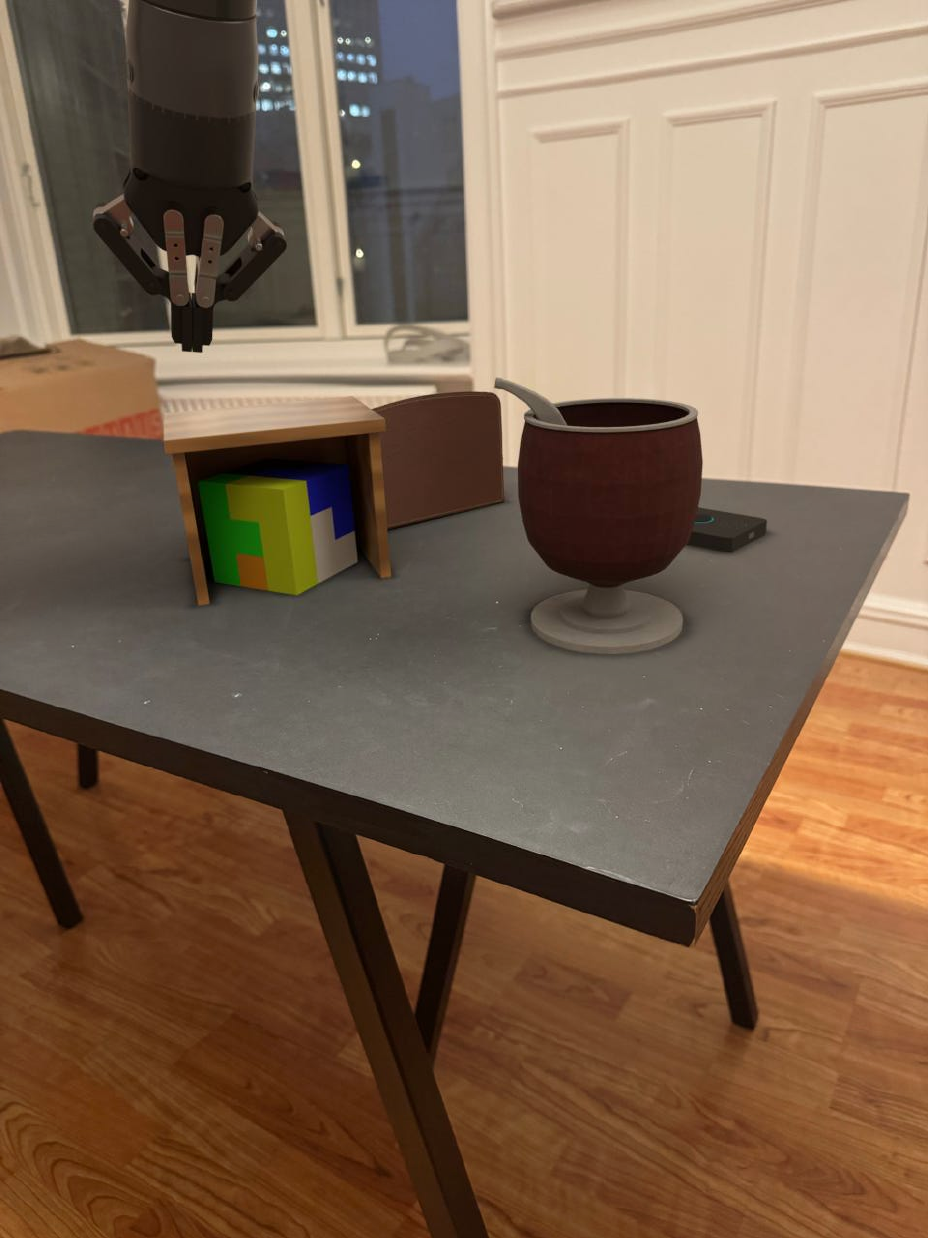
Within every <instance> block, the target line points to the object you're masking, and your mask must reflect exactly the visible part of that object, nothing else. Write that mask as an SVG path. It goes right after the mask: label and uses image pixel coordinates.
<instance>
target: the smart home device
mask: <svg viewBox="0 0 928 1238" xmlns="http://www.w3.org/2000/svg"><path fill="white" fill-rule="evenodd" d="M767 524H768V520H767V519H766V518H763V517H757V516H751V515H746V514H741V513H740V514H739V513H734V512H729V511H721V510H716V509H710V508H705V507H699V506H698V509H697V514H696V519H695V523H694V527H693V530H692V533H691V536H690V539H689V542H688V543H687V545H686V546H690V547H694V548H695V547H696V548H701V549H705V550H711V551H715V552H721V553H728V554H730V553H734V552H736V551H738V550H740V549H743V547H746V546H747V545H750V544H751V543H753V542H755V541H757V540H758V539H760V538H763V537H764V536H766V534H767Z"/></svg>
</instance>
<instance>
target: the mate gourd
mask: <svg viewBox="0 0 928 1238" xmlns="http://www.w3.org/2000/svg"><path fill="white" fill-rule="evenodd" d="M493 389H497V390H504V391H505V392H508V393H510V394H511V395H513V396H515V397H516V398H517V399H519V400H520V401H521V402H523V403H524V404H525V405H526V406H527V407H528V408H529V410H527V411H525V412H524V414H523V421H524V423H523V428H522V432H521V436H520V443H519V444H520V445H519V451H518V461H517V490H518V491H517V493H518V495H517V496H518V497H517V498H518V502H519V510H520V515H521V521H522V525H523V528H524V532H525V536H526V539H527V541H528V543H529V545H530V547H532V549H533V550H534V551H535V553H536V554H537V555H538V557H539V558H540V559H541V561H543V563H544V564H545V565H546V567H547V568H549V569H550V570H551V571H552V572H555V573H557V574H558V575H562V576H565V577H568V578H572V579H574V580H577V581H581V582H585V583H587V584H589V586H588V589H587V588H586V589H579V590H573V591H572V590H571V591H567V592H564V593H559V594H556V595H553V596H551V597H548V598H546V599H544V600H543V601H540V602H539V603H538V604H537V605H536V606H535V607H534V608H533V610H532V611H531V612H530V627H531V629H532V632H533V633H535V635H536V636H537V637H538V638H540V639H542V640H543V641H545V642H546V643H549V644H551V645H553V646H556V647H559V648H561V649H565V650H569V651H573V652H580V653H586V654H597V655H620V654H621V655H622V654H632V653H633V654H634V653H639V652H644V651H649V650H653V649H656V648H659V647H662V646H664V645H666V644H668V643H670V642H671V643H672V641H673V640H675V639H677V637H679V635H680V634H681V633H682V630H683V623H684V617H683V614H682V612H681V610H679V608H678V607H677V606H675V605H674V604H673V603H671V602H670V601H667V600H666V599H664V598H662V597H659V596H656V595H654V594H653V595H652V594H649V593H645V592H641V591H636V590H628V589H625V587H624V584H627V583H630V582H635V581H637V580H643V579H645V578H649V577H652V576H655V575H658V574H659V573H662V572H664V571H665V570H666V569H667V568H668V567H669V566H670V565H671V564H672V563H673V561H674V560H675V559H676V558H677V556H679V554H680V553H681V552H682V551H683V549H685V547H686V546H688V545H687V543H688V542H689V539H690V536H691V533H692V530H693V527H694V523H695V519H696V514H697V509H698V507H699V503H700V499H701V495H702V483H703V480H702V479H703V465H704V463H703V462H704V461H703V451H702V450H703V449H702V440H701V439H702V437H701V431H700V430H701V429H700V425H699V421H698V417H699V411H698V409H697V408H696V407H693V406H691V405H689V404H685V403H683V402H677V401H671V400H664V399H663V400H662V399H652V398H651V399H650V398H633V397H632V398H630V397H612V398H611V397H608V398H607V397H606V398H589V399H587V398H586V399H575V400H574V399H573V400H566V401H559V402H551V401H550V400H549V399H548V398H546V397H545V396H543V395H542V394H540V393H538V392H536V391H534V390H532V389H530V388H527V387H526V386H523V385H521V384H518V383H516V382H514V381H511V380H507V379H503V378H502V377H498V376H497V377H495V378H494V385H493Z"/></svg>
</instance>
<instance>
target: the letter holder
mask: <svg viewBox="0 0 928 1238" xmlns="http://www.w3.org/2000/svg"><path fill="white" fill-rule="evenodd" d="M371 409H372V410H373V411H374V412H376V413H377V414H379V415H380V416H382V417H383V418H384V419H385V428H386V431H385V432H379V436H380V448H381V460H382V473H383V485H384V497H385V509H386V521H387V531H390V530H394V529H398V528H403V527H405V526H411V525H415V524H419V523H423V522H426V521H427V522H428V521H431V520H435V519H440V518H445V517H449V516H454V515H458V514H461V513H467V512H470V511H474V510H479V509H482V508H487V507H491V506H495V505H500V504H503V503H504V502H505V486H504V485H505V484H504V483H505V482H504V481H505V480H504V456H503V454H504V453H503V424H502V423H503V421H502V403H501V400H500V397H499V396H498V395H497V394H496V393H494V392H492V391H477V390H476V391H470V390H468V391H467V390H466V391H452V392H451V391H449V392H441V393H431V394H423V395H417V396H413V397H409V398H408V397H407V398H404V399H400V400H396V401H392V402H389V403H386V404H383V405H380V406H379V405H378V406H376V407H373V408H371Z"/></svg>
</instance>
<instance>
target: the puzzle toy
mask: <svg viewBox="0 0 928 1238" xmlns="http://www.w3.org/2000/svg"><path fill="white" fill-rule="evenodd" d="M198 485H199V491H200V497H201V503H202V509H203V515H204V521H205V527H206V533H207V539H208V545H209V551H210V557H211V560H210V562H211V569H212V576H213V581H214V583H219V584H226V585H231V586H237V587H245V588H249V589H257V590H261V591H267V592H268V591H269V592H274V593H280V594H287V595H291V596H298V595H300V594H301V593H304V592H305V591H307V590H310V589H311V588H313V587H314V586H317V585H318V584H320V583H322V582H324V581H325V580H327V579H329V578H331V577H333V576H334V575H337V574H338V573H340V572H342V571H344V570H345V569H347V568H349V567H351V566H352V565H354V564H356V563H359V562H358V561H359V560H358V552H357V551H358V550H357V543H356V540H355V530H354V519H353V509H352V499H351V489H350V478H349V468H348V465H347V464H334V463H321V462H308V461H295V460H283V459H270V458H267V459H264V460H261V461H258V462H255V463H252V464H249V465H246V466H243V467H240V468H237V469H234V470H231V471H228V472H225V473H222V474H219V475H216V476H213V477H210V478H207V479H204V480H201V481H198Z"/></svg>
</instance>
